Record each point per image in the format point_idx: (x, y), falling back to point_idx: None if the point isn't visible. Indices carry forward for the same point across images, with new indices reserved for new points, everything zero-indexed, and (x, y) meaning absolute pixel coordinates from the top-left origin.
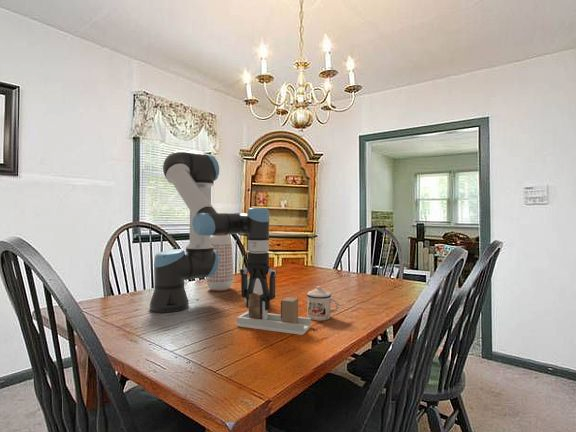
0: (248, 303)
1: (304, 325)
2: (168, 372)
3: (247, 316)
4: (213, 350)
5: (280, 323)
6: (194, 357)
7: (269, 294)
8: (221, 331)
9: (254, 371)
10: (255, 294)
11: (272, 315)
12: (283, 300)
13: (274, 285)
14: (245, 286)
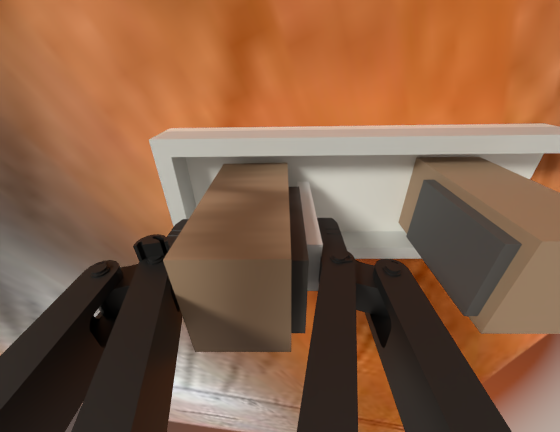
0: None
1: (514, 163)
2: (249, 422)
3: (184, 176)
4: (260, 370)
5: (405, 256)
6: (248, 393)
7: (377, 342)
8: None
9: (380, 400)
10: (241, 337)
11: (329, 153)
12: (493, 333)
13: (478, 414)
14: (74, 382)
